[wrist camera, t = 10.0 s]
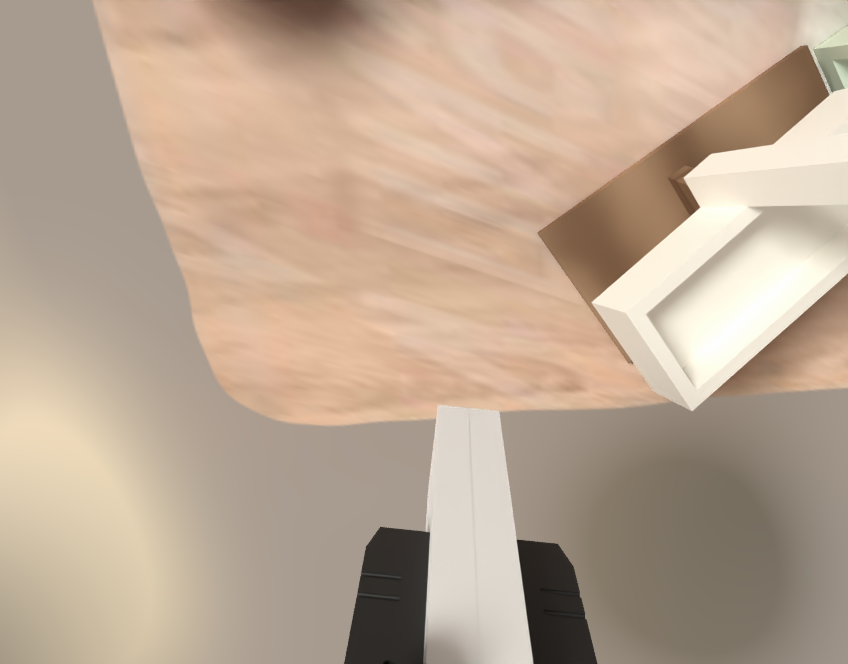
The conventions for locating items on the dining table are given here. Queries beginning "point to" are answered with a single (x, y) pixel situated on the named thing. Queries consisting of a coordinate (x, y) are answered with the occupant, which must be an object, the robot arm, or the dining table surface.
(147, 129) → the dining table surface
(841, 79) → the tray
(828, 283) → the seesaw
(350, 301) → the dining table surface
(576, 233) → the stand
